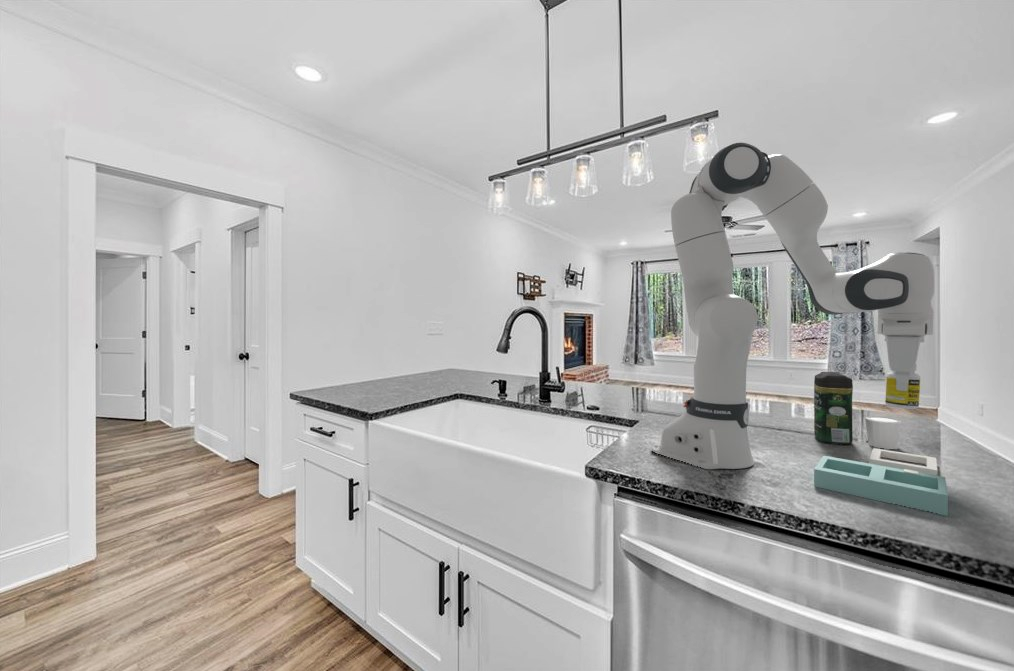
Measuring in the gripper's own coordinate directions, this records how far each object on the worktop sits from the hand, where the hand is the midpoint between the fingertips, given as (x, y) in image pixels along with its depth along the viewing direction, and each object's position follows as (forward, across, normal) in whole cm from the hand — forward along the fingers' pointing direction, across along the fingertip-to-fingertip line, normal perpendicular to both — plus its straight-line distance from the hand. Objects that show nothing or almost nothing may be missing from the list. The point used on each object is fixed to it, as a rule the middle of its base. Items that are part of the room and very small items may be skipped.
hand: (902, 388), depth 91 cm
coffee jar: (+18, -13, -14) cm, 26 cm away
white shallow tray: (+17, 0, 0) cm, 17 cm away
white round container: (+17, -15, -4) cm, 23 cm away
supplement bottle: (+4, 0, 0) cm, 4 cm away
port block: (+18, +22, -3) cm, 28 cm away
